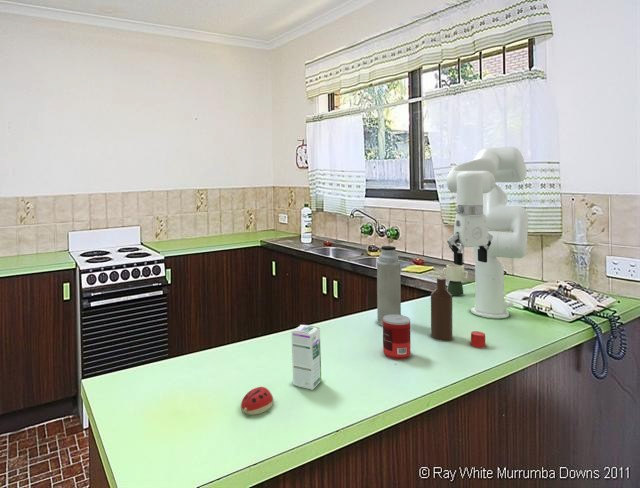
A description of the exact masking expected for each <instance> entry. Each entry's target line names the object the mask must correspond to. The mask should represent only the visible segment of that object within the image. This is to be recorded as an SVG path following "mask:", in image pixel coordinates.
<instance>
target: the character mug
mask: <svg viewBox="0 0 640 488" xmlns="http://www.w3.org/2000/svg"><path fill="white" fill-rule="evenodd" d="M442 274H443V276H446V280H448V286H447V290H448V291H449V292H450V294H451V295H452V296H461V295H464V287H463V283H462V282H463V281H464V280H468V279H469V272H468V271H467V270H465V266H464V264H463V265H462V266H460V265H456V264H454V263H448V264H446V267H443V269H442Z"/></svg>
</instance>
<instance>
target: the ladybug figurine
mask: <svg viewBox="0 0 640 488" xmlns="http://www.w3.org/2000/svg"><path fill="white" fill-rule="evenodd" d="M273 404H274V396H273V394H272V391H270V389H269V388H267V387H265V386H257V387H255V388H252V389H251V390H249V391H248V392H247V393H246V394H245V395H244V396H243V397H242V400H241V403H240V410H241V411H242V413H244V414H246V415H251V416H253V415H259V414H262V413H264V412H266V411H268V410H269V409H270V408H272V406H273Z"/></svg>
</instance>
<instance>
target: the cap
mask: <svg viewBox="0 0 640 488" xmlns="http://www.w3.org/2000/svg"><path fill="white" fill-rule="evenodd" d="M470 346H472V347H474V348H479V349H482V348H483V349H485V347H486V334H485V332H483V331H477V330H473V331H470Z"/></svg>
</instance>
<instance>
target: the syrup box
mask: <svg viewBox="0 0 640 488" xmlns="http://www.w3.org/2000/svg"><path fill="white" fill-rule="evenodd" d="M321 351H322V349H321V328H320V327H318V326H314V325H309V324H299V326H297V327H296V328H294V329H293V330H291V358H292V359H291V360H292V361H291V362H292V384H293V386H296V387H300V388H303V389H306V390H311V391H313V390H315V388H316V387H317V386H318V385H319V384H320V383H321V382H322V358H321V357H322V356H321V354H322V352H321Z"/></svg>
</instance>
